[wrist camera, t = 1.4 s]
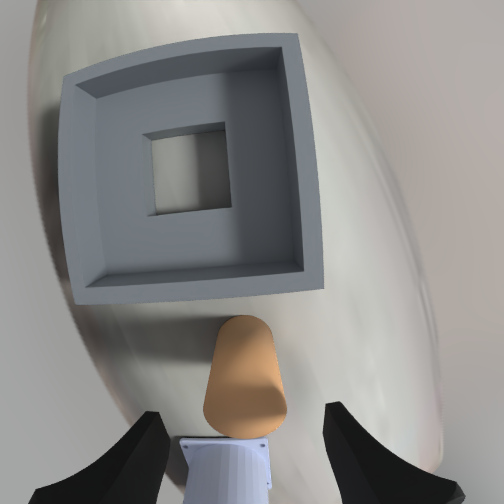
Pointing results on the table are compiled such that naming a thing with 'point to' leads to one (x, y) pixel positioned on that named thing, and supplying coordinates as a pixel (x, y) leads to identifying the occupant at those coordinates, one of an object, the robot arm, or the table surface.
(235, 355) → the peg
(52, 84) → the table surface
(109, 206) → the box
